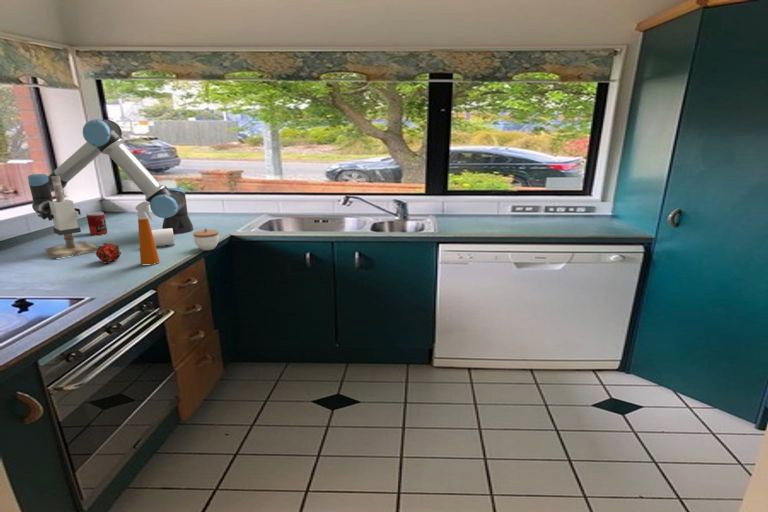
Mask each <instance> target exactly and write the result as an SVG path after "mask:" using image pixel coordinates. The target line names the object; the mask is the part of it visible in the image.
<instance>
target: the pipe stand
mask: <svg viewBox="0 0 768 512" xmlns="http://www.w3.org/2000/svg"><path fill="white" fill-rule="evenodd" d="M51 178H52V182H53V187H54V191H53V192H54V197H55V199H56V200H55V201H57V202H65V200H66V199H65V195H64V188H63V189H62V184H61V179H60V176H51ZM63 236H64V237H63V239H64V241H65V244H62V245H57V246H51V247H46V248H44V252H46V253H45V254H47V253H48V254H49V255H48V254H47V255H48V256H50V255H51V256H50V257H52V256H53V257H55V258H62V257H67V258H69V257H68V256H72V255H77V256H80V255H79V254H82V255H84V254H83V253H87V254H90V253H89V252H92V253H95V252H94V251H97V249H98V247H97V246H96V245H94V244H92V243H90V242H87V241H80V242H75V239H74V236H73V233H72V234H66V235H63ZM53 257H52V258H53ZM72 257H73V256H72ZM55 258H54V259H55ZM62 259H63V258H62Z"/></svg>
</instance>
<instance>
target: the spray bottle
mask: <svg viewBox="0 0 768 512" xmlns="http://www.w3.org/2000/svg"><path fill="white" fill-rule="evenodd" d="M135 210H136V211H137V221H138V222H137V223H138V225H137V226H138V243H139V259H140V265H141V264H154V263H157V262H159V261H160V257H159V254H158V250H157V247H156V246H155V242H154V238H153V235H152V231H151V230H152V227H151V224H150V220H151V222H154V221H155V219H154V217H153V215H152V214H151V213H152V212H151V211H150V203H149V202H148V201H146V200H145V201H142V202H140V203H138V204H137V205H136V207H135ZM149 219H150V220H149ZM159 263H160V262H159Z"/></svg>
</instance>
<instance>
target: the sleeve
mask: <svg viewBox="0 0 768 512" xmlns="http://www.w3.org/2000/svg"><path fill="white" fill-rule="evenodd" d="M49 204H50V209H51V213H55V214H58V219H59V221H56V220H53V219H52V221H53V226H54V228H55V229H58V230H60V231H61V230H67V229H74V228H78V227H79V224H78V220H77V219H78V218H76V214H75V209H74V208H75V204H74V201H73V200H71V199H65V202H57V201H56V200H53V201H49Z"/></svg>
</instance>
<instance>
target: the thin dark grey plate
mask: <svg viewBox="0 0 768 512" xmlns="http://www.w3.org/2000/svg"><path fill="white" fill-rule="evenodd" d="M52 230H53V233H54V234H55V235H58V236H64V235H66V234H72V235H73V234H79V233H81V232H82V230H81V227H80V226H78V228H74V229H67V230H61V231H60V230H58V229H55V227H54V228H53V229H52Z"/></svg>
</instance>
